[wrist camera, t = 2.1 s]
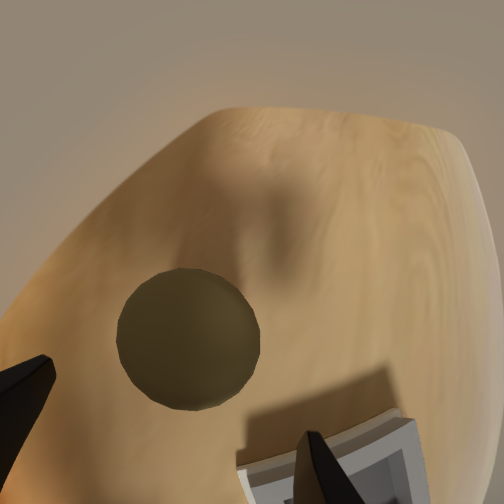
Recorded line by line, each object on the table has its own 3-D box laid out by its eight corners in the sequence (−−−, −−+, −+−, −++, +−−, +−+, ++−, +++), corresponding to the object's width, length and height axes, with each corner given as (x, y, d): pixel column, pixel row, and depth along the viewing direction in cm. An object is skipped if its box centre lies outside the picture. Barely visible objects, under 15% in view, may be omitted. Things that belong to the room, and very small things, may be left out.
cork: (151, 390, 17) (75, 396, 7) (169, 306, 20) (121, 228, 10) (241, 409, 17) (264, 444, 7) (255, 323, 20) (291, 260, 10)
